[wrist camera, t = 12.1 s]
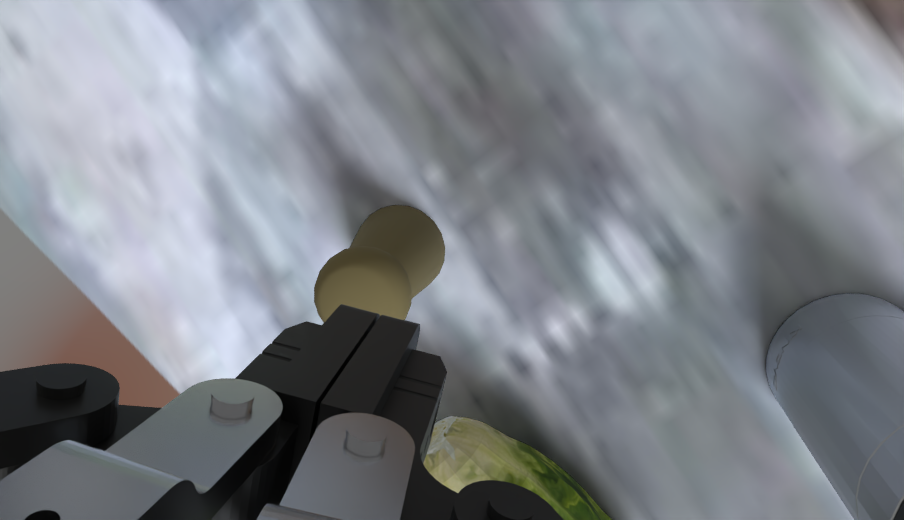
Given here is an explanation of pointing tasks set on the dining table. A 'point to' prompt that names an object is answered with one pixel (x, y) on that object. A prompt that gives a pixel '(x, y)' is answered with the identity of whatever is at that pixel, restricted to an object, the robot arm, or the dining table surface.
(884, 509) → the robot arm
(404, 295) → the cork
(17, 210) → the dining table surface
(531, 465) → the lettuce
